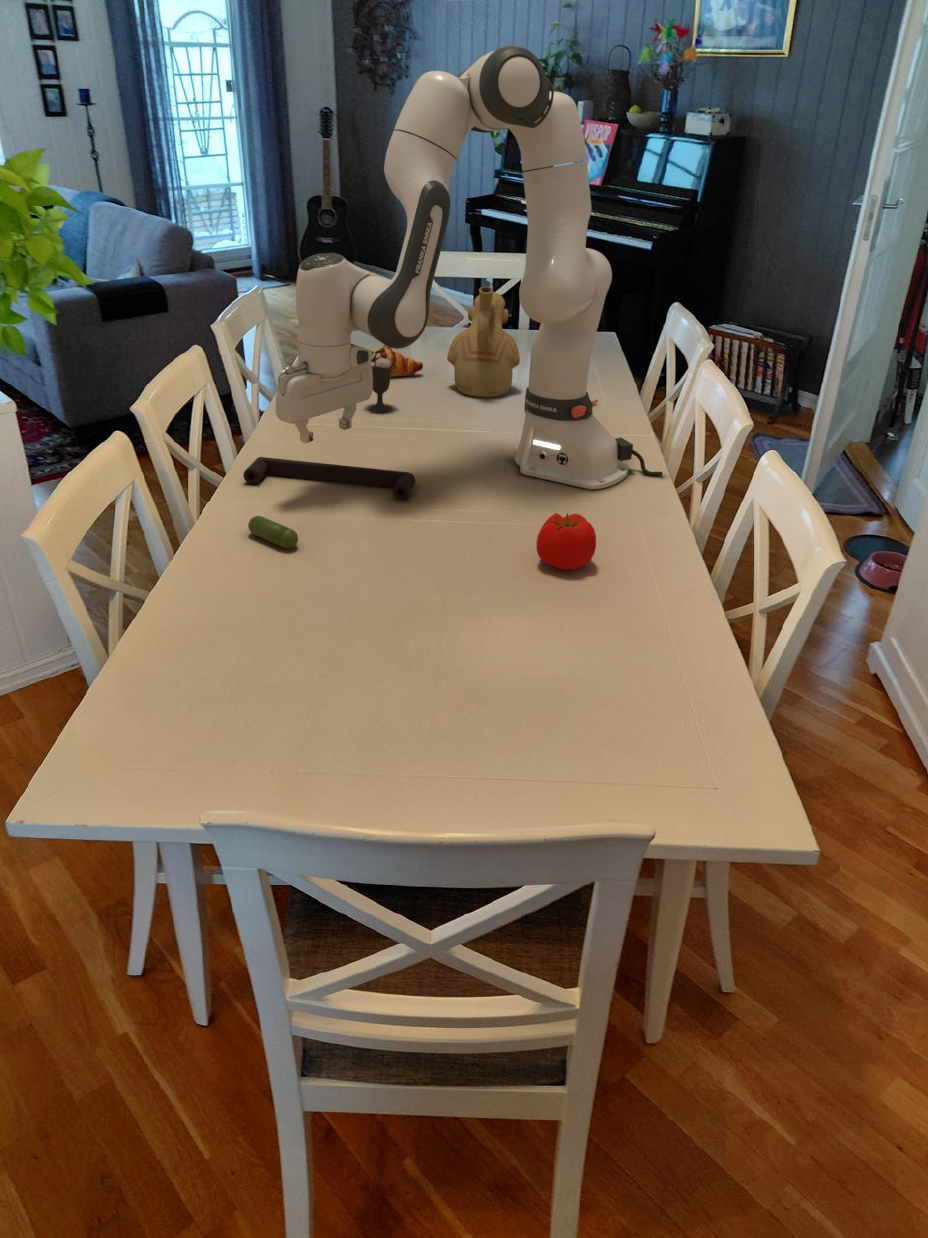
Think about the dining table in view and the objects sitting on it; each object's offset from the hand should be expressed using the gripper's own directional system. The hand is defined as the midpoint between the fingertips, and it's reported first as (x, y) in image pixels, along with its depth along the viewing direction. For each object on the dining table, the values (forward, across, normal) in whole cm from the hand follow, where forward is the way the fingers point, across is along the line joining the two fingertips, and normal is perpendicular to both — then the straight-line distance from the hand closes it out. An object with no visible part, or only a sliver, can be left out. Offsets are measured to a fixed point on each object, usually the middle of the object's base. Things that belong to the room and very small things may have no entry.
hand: (326, 434), depth 165 cm
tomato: (+9, +4, -49) cm, 50 cm away
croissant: (+10, +57, +40) cm, 71 cm away
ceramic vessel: (+10, +65, +14) cm, 67 cm away
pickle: (+9, -22, -10) cm, 26 cm away
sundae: (+10, +38, +22) cm, 45 cm away
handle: (+10, 0, -1) cm, 10 cm away
